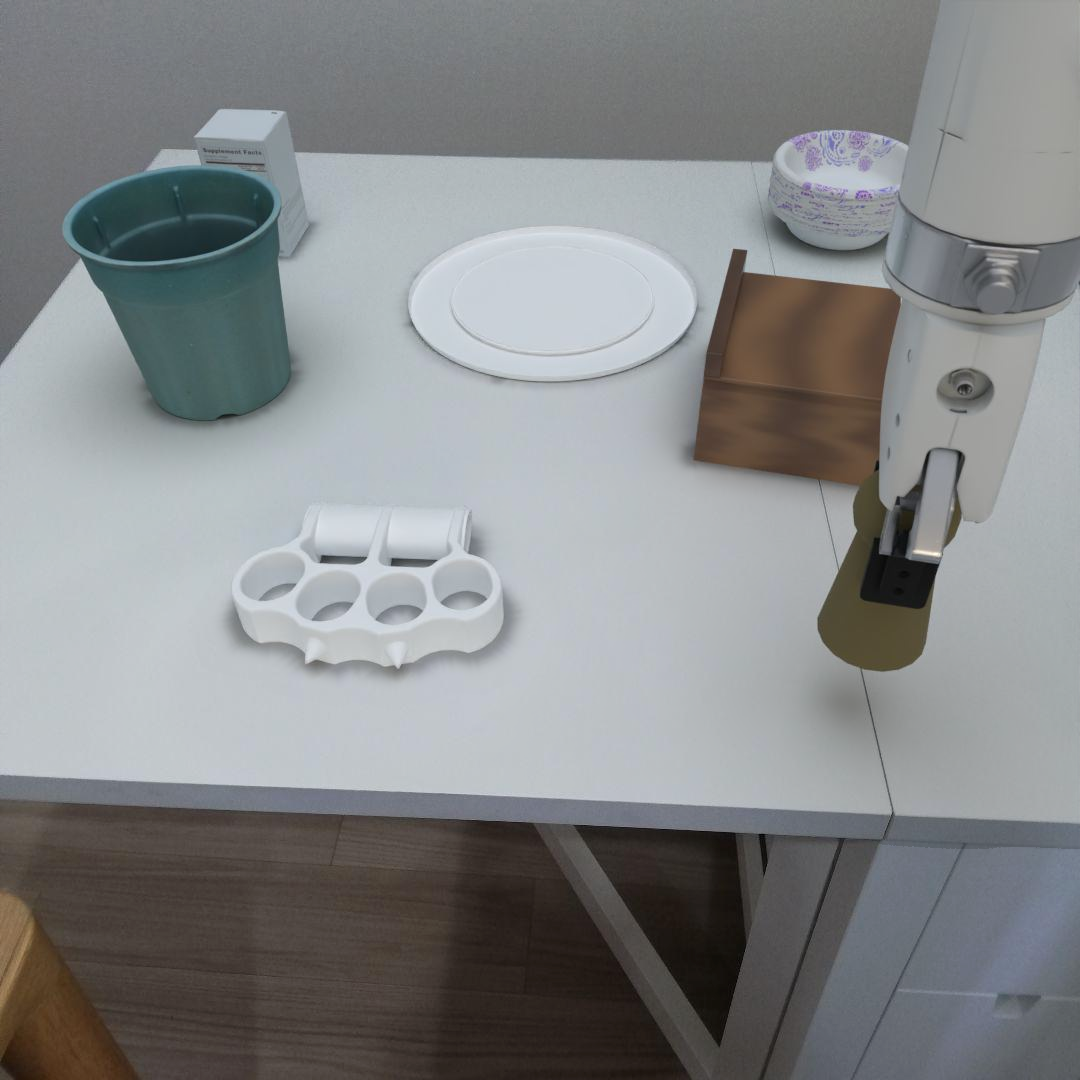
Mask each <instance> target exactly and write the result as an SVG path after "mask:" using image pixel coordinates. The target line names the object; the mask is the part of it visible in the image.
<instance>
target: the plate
mask: <svg viewBox="0 0 1080 1080" xmlns="http://www.w3.org/2000/svg"><path fill="white" fill-rule="evenodd" d="M415 277H416V278H415V279H414V281H413V282H412V283H411V286H410V289H409V292H408V297H407V308H408V314H409V317H410V320H411V322H412V323H413V326H414V328H415V330H416V332H417V333H418V334H419V336H420V337H421V338H422V339H423V341H424V342H425V343H426V344H427V345H428V346H429V347H431V348H432V349H433V350H435V352H437V353H438V354H440V355H441V356H443V357H444V358H447V359H448V360H450V361H451V362H454V363H456V364H458V365H461V366H463V367H464V368H467V369H470V370H473V371H476V372H480V373H482V374H486V375H491V376H495V377H499V378H503V379H504V378H506V379H511V380H518V381H526V382H529V381H530V382H573V381H582V380H589V379H595V378H600V377H601V378H602V377H605V376H610V375H613V374H617V373H620V372H624V371H628V370H630V369H634V368H636V367H638V366H640V365H643V364H645V363H647V362H649V361H651V360H653V359H654V358H656V357H658V356H660V355H661V354H663V353H665V352H667V350H669V349H671V347H673V346H675V344H676V343H677V342H678V341H680V339H681V338H682V337H683V336H684V335H685V333H686V332H687V330H688V329H689V327H690V325H691V324H692V321H693V319H694V316H695V314H696V311H697V307H698V293H697V289H696V285H695V283H694V280H693V279H692V276H691V275H690V274H689V272H688V271H687V269H685V267H683V265H682V264H681V263H679V261H678V260H676V259H675V258H673V257H672V256H671V255H669V254H668V253H667V252H665V251H663V250H661V249H660V248H659V247H656V246H654V245H652V244H650V243H648V242H645V241H643V240H641V239H638V238H636V237H633V236H629V235H626V234H624V233H623V234H622V233H619V232H615V231H611V230H605V229H601V228H600V229H599V228H592V227H587V226H586V227H583V226H573V225H540V226H538V225H537V226H527V227H526V226H525V227H519V228H511V229H506V230H501V231H496V232H493V233H488V234H485V235H481V236H478V237H475V238H472V239H470V240H467V241H465V242H462V243H460V244H457V245H456V246H454V247H452V248H450V249H448V250H446V251H444V252H442V253H441V254H440V255H438V256H437V257H435V258H434V259H433V260H431V261H430V262H429V263H428V264H426V265H425V266H424V267H423V268H422V269H421V270H420V272H419V273H418V274H417V276H415Z"/></svg>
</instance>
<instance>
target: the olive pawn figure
mask: <svg viewBox="0 0 1080 1080" xmlns="http://www.w3.org/2000/svg"><path fill="white" fill-rule="evenodd" d="M919 487H920V485H915V486H914V487H913V488H912V489H911V490H912V491H919ZM886 511H887V508H886V507H885V506H884V504H883V503H882V502H881V500H880V497H879V470H877V471H876V472H874V473H873V474H871V475H870V476H869V477H868V478H866V479H865V480H864V481H863V483H862V484H861V486H859V487H858V490H857V492H856V494H855V496H854V499H853V503H852V516H853V526H854V527H855V529H856V531H855V534H854V536H853V538H852V540H851V543H850V545H849V547H848V550H847V552H846V554H845V557H844V559H843V561H842V563H841V565H840V567H839V569H838V571H837V574H836V576H835V578H834V580H833V582H832V584H831V587H830V589H829V591H828V593H827V596H826V598H825V599H824V603H823V605H822V606H821V609H820V611H819V613H818V615H817V618H816V619H817V623H816V625H817V632H818V634H819V637H820V639H821V641H822V643H823V645H825V647H826V648H827V649H828V650H829V651H830V652H831V654H832V655H834V656H836V657H837V658H839V659H840V660H842V661H843V662H844V663H846V664H847V665H848V664H849V665H850V666H853V667H856V668H859V669H861V670H864V671H873V672H879V673H880V672H881V673H884V672H893V671H899V670H902V669H903V668H906V667H909V666H910V665H913V664H914V663H915V662H916V661H917V660H918V659H919V658H920V657H921V656H922V655H923V652H924V650H925V646H926V643H927V638H928V632H929V631H928V630H929V625H930V618H931V612H932V604H933V598H934V590H935V585H936V584H935V583H936V577H937V575H936V576H935V579H934V582H933V585H932V588H931V591H930V594H929V597H928V600H927V602H926V605H925V607H923V608H921V609H913V608H907V607H900V606H894V605H888V604H881V603H875V602H869V601H864V600H862V599H861V598H860V587H861V583H862V580H863V576H864V572H865V568H866V565H867V561H868V557H869V554H870V550H871V546H872V543H873V539H874V537H875V538H881V534H882V529H883V525H884V520H885V516H886ZM914 517H915V512H914V511H907V510H902V512H901V516H900V521H899V525H898V529H897V531H898V530H902V529H903V530H910V531H911V529H912V526H913V522H914ZM962 519H963V516H962V512H961V507H960V503H959V498H958V496H957V500H956V504H955V508H954V512H953V515H952V519H951V523H950V527H949V531H948V535H947V539H946V543H945V547H944V549H945V548H946V547H948V546H949V544H951V542H952V541H953V539H955V537H956V535H957V532H958V529H959V527H960V524H961V522H962Z"/></svg>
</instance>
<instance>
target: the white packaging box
mask: <svg viewBox="0 0 1080 1080" xmlns="http://www.w3.org/2000/svg"><path fill="white" fill-rule="evenodd" d="M193 140H194V143H195V147H196V150H197V155H198V158H199V162H200V165H212V166H224V167H232V168H237V169H242V170H246V171H249V172H252V173H255V174H257V175H260V176H261V177H263V178H265V179H267V180H268V181H270V182H271V183H272V184H273V185H274V186H275V187H276V188H277V190H278V191H279V193H280V196H281V202H282V204H281V212H280V215H279V217H278V231H279V242H280V252H279V256H278V257H283V258H284V257H285V258H288V257H289V258H290V257H292V254H293V253H294V251H295V250H296V248H297V246H298V244H299V243H300V241H301V239H302V238H303V236H304V235H305V233H306V232H307V230H308V228H309V227H310V222H309V216H308V212H307V207H306V202H305V198H304V193H303V188H302V183H301V178H300V172H299V168H298V163H297V157H296V153H295V148H294V143H293V137H292V132H291V128H290V122H289V118H288V113H287V112H286V111H284V110H277V109H276V110H275V109H241V108H239V109H238V108H220V109H217V111H216V112H215V113H214V114H213V116H212V117H211V118H210V119H209V120H208V121H207V122H206V123H205V125H203V127H202V128H201V129H200V130H199V131H198V132H197V133H196V134H195V135H194V136H193Z"/></svg>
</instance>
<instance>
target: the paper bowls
mask: <svg viewBox="0 0 1080 1080" xmlns="http://www.w3.org/2000/svg"><path fill="white" fill-rule="evenodd" d="M908 147H909V144H906V143H904V142H902V141H900V140H898V139H894V138H892V137H889V136H885V135H882V134H878V133H873V132H867V131H861V130H848V129H827V130H818V131H817V130H816V131H810V132H807V133H802V134H799V135H796V136H794V137H791V138H789V139H788V140H786V141H785V142H783V143H782V144H781V145H780V146H779V147H778V148H777V150H776V151H775V153H774V154H773V158H772V167H771V174H770V177H769V187H768V193H767V202H768V206H769V209H770V211H771V212H772V213H773V214H774V215H775V217H777V218H778V219H780V220H781V221H782V222H784V223H785V224H786V227H787V228H788V230H789V231H790V233H791V234H793V236H795V237H796V238H797V239H799V240H800V241H801V242H803V243H806V244H808V245H810V246H813V247H816V248H821V249H826V250H831V251H832V250H833V251H855V250H861V249H864V248H868V247H871V246H873V245H875V244H877V243H878V242H880V241H882V239H884V238H885V236H886V235H888V234H889V232H890V228H891V223H892V219H893V214H894V210H895V205H896V201H897V196H898V192H899V188H900V184H901V179H902V174H903V170H904V167H905V160H906V156H907V151H908Z"/></svg>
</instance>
